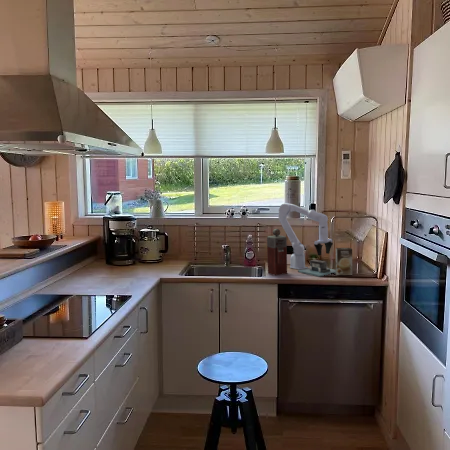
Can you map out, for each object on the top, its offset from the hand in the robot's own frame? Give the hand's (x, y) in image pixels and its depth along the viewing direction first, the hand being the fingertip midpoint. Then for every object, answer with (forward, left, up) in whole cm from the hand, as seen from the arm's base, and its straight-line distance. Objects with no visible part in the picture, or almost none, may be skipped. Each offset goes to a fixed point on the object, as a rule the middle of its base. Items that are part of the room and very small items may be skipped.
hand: (323, 254), depth 289 cm
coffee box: (+20, -4, -10) cm, 23 cm away
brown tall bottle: (-9, -31, -10) cm, 33 cm away
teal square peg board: (+5, -10, -9) cm, 15 cm away
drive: (+5, -10, -8) cm, 14 cm away
